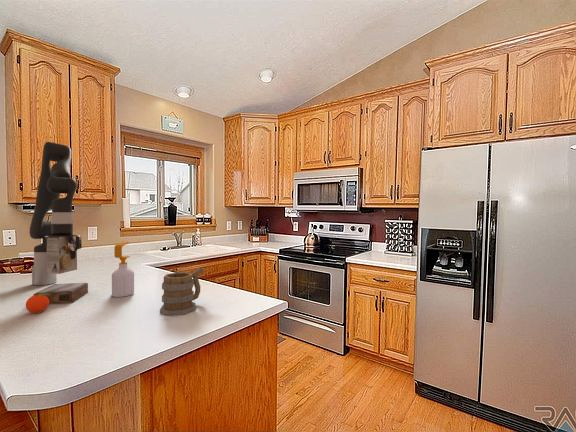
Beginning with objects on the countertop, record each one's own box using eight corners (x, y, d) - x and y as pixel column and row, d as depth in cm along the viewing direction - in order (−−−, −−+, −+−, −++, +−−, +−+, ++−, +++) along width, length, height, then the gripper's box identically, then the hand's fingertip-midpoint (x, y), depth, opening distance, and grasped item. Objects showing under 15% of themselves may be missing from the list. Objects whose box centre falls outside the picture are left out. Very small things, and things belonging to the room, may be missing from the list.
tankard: (174, 318, 108) (174, 277, 107) (154, 311, 114) (154, 273, 114) (215, 303, 125) (215, 268, 124) (195, 298, 131) (195, 265, 131)
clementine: (50, 307, 118) (50, 290, 118) (54, 311, 114) (54, 293, 114) (23, 312, 112) (23, 294, 112) (27, 317, 108) (27, 297, 108)
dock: (31, 306, 120) (31, 293, 120) (53, 294, 136) (53, 283, 136) (71, 303, 123) (71, 291, 123) (88, 292, 140) (87, 282, 140)
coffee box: (64, 269, 135) (64, 234, 135) (77, 269, 134) (77, 234, 134) (46, 273, 126) (46, 236, 126) (59, 274, 125) (59, 236, 125)
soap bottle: (138, 292, 140) (138, 241, 140) (122, 298, 131) (121, 243, 131) (124, 291, 143) (124, 240, 143) (107, 296, 134) (107, 242, 134)
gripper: (38, 223, 124) (38, 261, 125) (77, 223, 128) (77, 260, 128) (48, 222, 132) (48, 258, 132) (84, 222, 135) (84, 257, 136)
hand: (62, 259), depth 130 cm, fingers closed on coffee box, 8 cm apart
